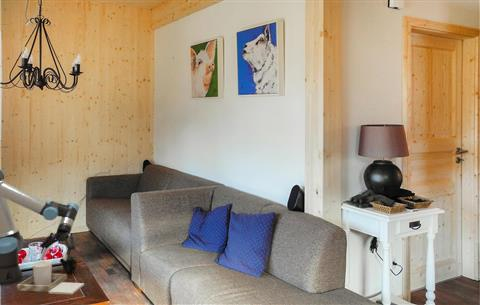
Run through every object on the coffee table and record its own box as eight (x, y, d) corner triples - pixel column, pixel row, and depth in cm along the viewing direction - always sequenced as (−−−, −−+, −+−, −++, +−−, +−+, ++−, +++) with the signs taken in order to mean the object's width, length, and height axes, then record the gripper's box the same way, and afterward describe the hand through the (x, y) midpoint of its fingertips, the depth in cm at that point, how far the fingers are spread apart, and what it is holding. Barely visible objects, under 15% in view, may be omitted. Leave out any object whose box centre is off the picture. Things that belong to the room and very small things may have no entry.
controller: (71, 275, 243) (71, 259, 242) (59, 271, 250) (58, 255, 249) (78, 273, 247) (77, 257, 246) (65, 269, 253) (64, 253, 253)
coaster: (48, 293, 218) (48, 291, 218) (61, 283, 230) (61, 282, 230) (72, 294, 216) (72, 292, 216) (84, 284, 229) (84, 283, 229)
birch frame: (17, 290, 222) (17, 284, 221) (37, 277, 239) (37, 272, 239) (49, 291, 220) (48, 286, 219) (66, 279, 238) (66, 274, 237)
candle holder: (44, 288, 224) (44, 267, 223) (29, 287, 226) (28, 265, 225) (56, 282, 233) (55, 261, 233) (41, 280, 235) (40, 260, 235)
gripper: (87, 230, 252) (76, 262, 238) (48, 229, 254) (35, 261, 241) (82, 223, 246) (71, 256, 233) (43, 223, 249) (29, 255, 235)
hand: (52, 259), depth 237 cm, fingers open, 13 cm apart
